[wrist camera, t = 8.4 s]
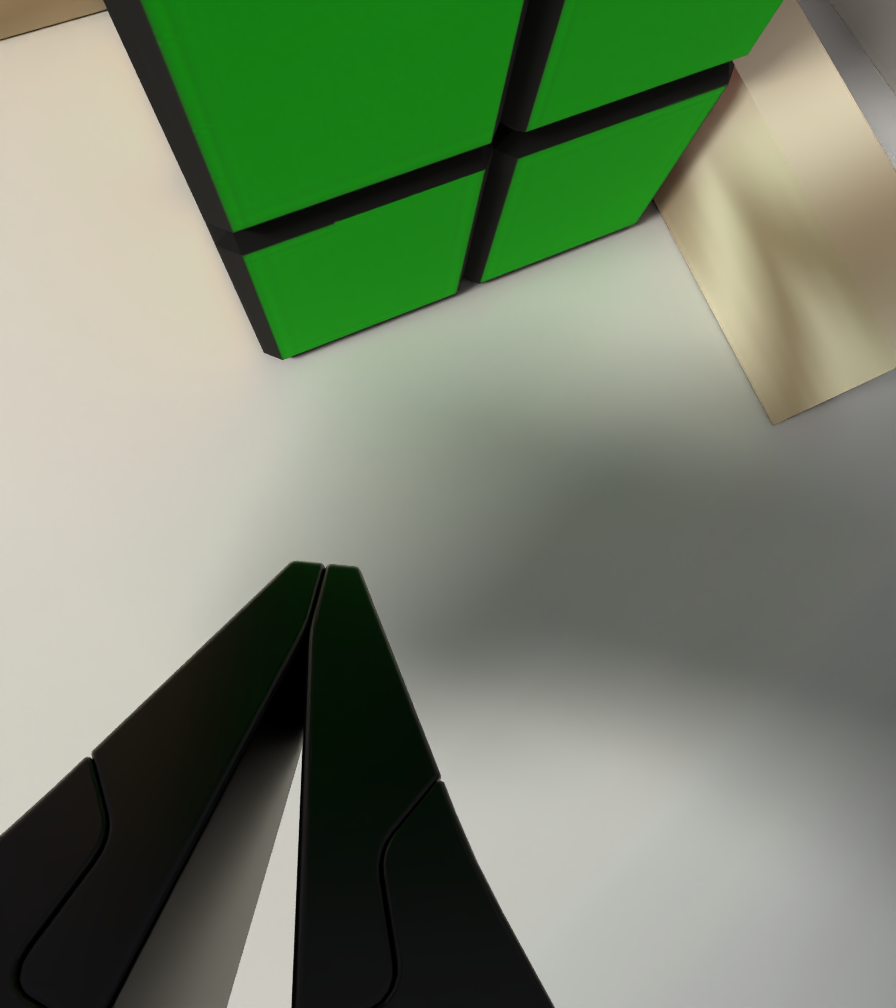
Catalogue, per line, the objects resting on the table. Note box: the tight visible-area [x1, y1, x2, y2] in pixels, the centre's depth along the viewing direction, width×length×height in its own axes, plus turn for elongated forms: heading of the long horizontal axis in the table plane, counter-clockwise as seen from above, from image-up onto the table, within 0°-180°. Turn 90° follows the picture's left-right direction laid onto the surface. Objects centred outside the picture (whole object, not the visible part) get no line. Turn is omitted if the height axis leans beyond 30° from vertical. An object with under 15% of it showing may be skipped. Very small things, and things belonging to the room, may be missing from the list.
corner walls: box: [0, 0, 896, 425], centre depth 14 cm, size 18×18×4 cm
